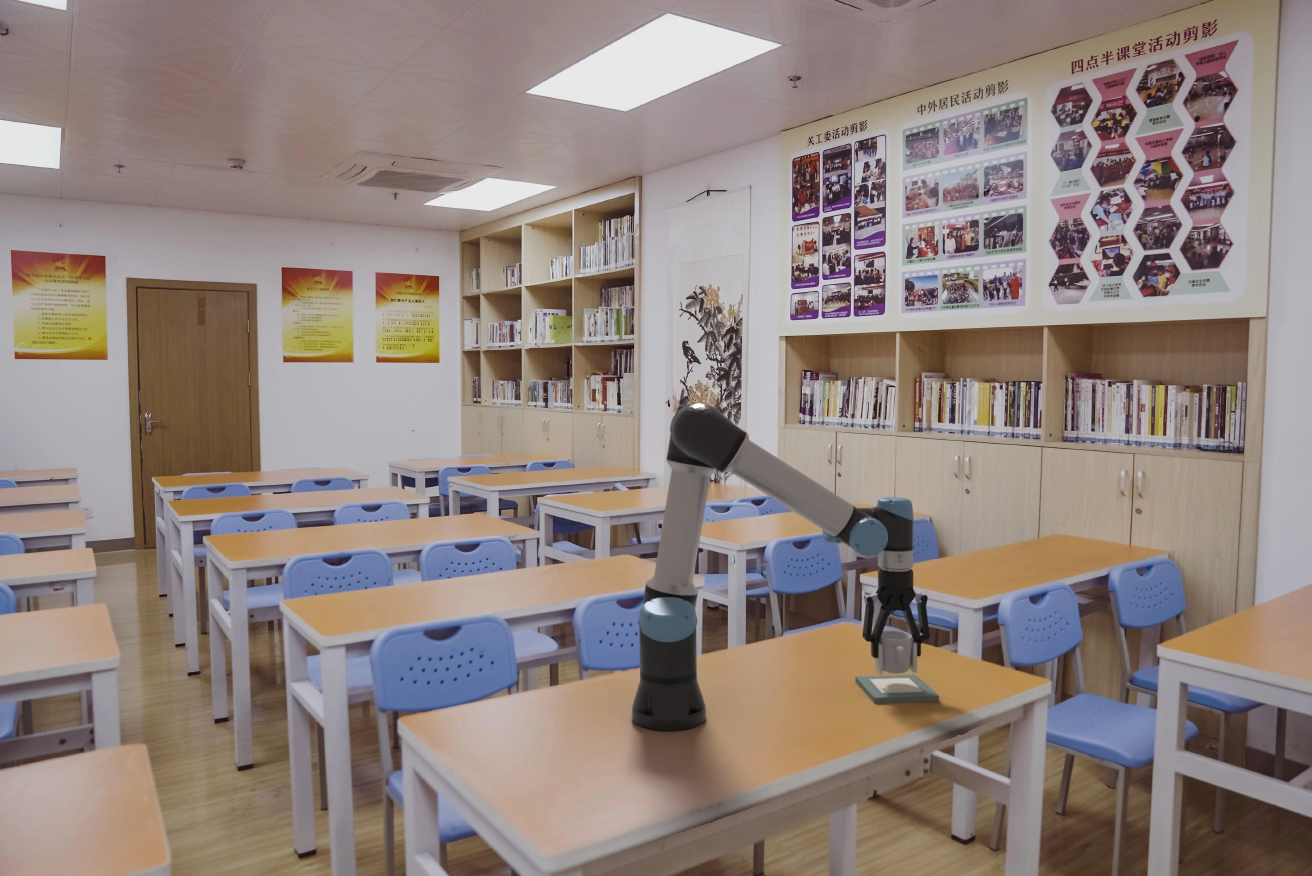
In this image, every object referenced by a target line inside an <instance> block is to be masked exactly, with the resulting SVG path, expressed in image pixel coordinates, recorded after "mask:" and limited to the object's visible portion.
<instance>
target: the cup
mask: <svg viewBox="0 0 1312 876" xmlns="http://www.w3.org/2000/svg"><path fill="white" fill-rule="evenodd" d="M912 642H913V636H912V635H911V633H910V632H906V631H900V630H883V632H882V635H881V638H880V641H879V643H881V644H882V645H883V672H885V673H888V674H892V675H893V674H894V675H901V674H905V673H907V672H908V671H909V670H910V669H909V668H910V662H911V652H912Z"/></svg>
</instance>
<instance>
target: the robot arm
mask: <svg viewBox="0 0 1312 876" xmlns="http://www.w3.org/2000/svg"><path fill="white" fill-rule="evenodd" d="M670 422H671V423H670V426H669V427H670V428H669V431H670V434H669V435H670V436H669V442H668V448H667V454H666V462H667V464H668V465H669V467H670V469H671V471H670V479H669V483H668V490H667V497H666V503H665V507H664V508H665V509H664V514H663V520H662V526H661V531H660V532H661V533H660V538H659V539H660V540H659V545H658V551H657V556H656V563H655V569H654V575H653V576H652V577H651V578H650V579H648V580H646V582H645V587H644V591H643V592H644V594H643V599H642V604H641V606H640V607H639V615H638V619H637V621H638V626H639V627H638V629H639V683H638V685H637V689H636V692H635V696H634V700H633V702H632V707H631V719H632V720H633V722H634V723H635V724H636V725H638V726H640V727H643V728H645V729H650V730H655V731H656V730H657V731H666V732H667V731H668V732H671V731H672V732H673V731H680V730H681V731H682V730H688V729H691V728H692V729H693V728H695V727H697V726H700V725H701V724H703V723H704V722H705V720H706V718H707V707H706V704H705V703H706V702H705V700H704V697H703V694H702V691H701V688H700V685H699V682H698V673H697V672H698V670H697V667H698V664H697V663H698V660H697V659H698V658H697V657H698V656H697V626H698V615H697V611H696V607H697V600H698V595H699V591H698V588H697V587H696V586H695V583H694V578H695V577H694V575H695V569H696V564H697V558H698V552H699V546H700V540H701V534H702V529H703V523H704V518H705V517H704V515H705V510H706V504H707V499H708V492H709V487H710V481H711V476H712V475H713V474H714V473H716V472H717V471H719V472H720V473H722V474H726V473H731V474H733V475H734V476H736V477H738V478H739V479H740V480H742V481H744V482H746V483H747V484H748V485H750V486H752V487H753V488H755V489H757V490H758V491H760V492H761V493H763V494H764V495H767V496H768V497H769V498H771V499H773V500H774V501H776V502H777V503H779V504H781V506H784V507H785V508H787V509H789V510H790V511H792V512H794V513H795V514H797V515H799V517H802V518H803V519H805V520H807V521H808V522H810V523H812V524H813V525H815V526H817V527H818V528H820V529H821V530H822V536H823V539H824V540H825V542H827V543H829V544H830V543H831V544H842V543H843V544H845V546H848V548H851V549H852V550H854V552H855V553H858V554H860V555H862V556H867V557H871V556H876V555H877V566H878V567H879V568H878V570H877V590H876V592H875V593H873V594H870V595H869V594H864V596H863V600H864V603H865V610H864V618H863V626H862V628H863V629H862V638H863V639H864V640H865V641H866V642H869V643H870V653H871V657H872V658H874V660H875V664H874V665H875V668H874V669H875V671H876V672H877V673H878V674H879V675H883V674H884V671H883V645H882V644H881V643H879V641H880V638H881V635H882V632H883V631H885V626H886V624H887V622H888V619H889V617H890V615H891V612H895V611H900V612H902V614H903V616H904V619H905V621H906V624H907V627H908V629H909V631H910V632H909V633H910V634H911V635H912V636H913V642H912V652H911V662H910V668H909V670H910V671H911V672H912V673H913V674H915V673H918V657H921V655H922V644H923V642H924V641H926V640H929V639H930V638H931V636H930V627H929V620H928V618H929V617H928V612H927V611H928V610H927V603H928V600H929V597H928V596H927V595H926V594H925V593H924V592H919V593H918V592H916V591H915V589H914V570H913V569H912V568H913V567H914V546H913V545H914V521H915V520H914V509H913V501H911V499H909V498H906V497H898V496H897V497H896V496H889V497H888V496H887V497H880V498H879V499H877V504H876V506H874V507H856V506H854V505H853V504H852V503H850V502H849V501H847V500H845V499H844V498H842V497H840V495H839V496H838V495H837V494H836V493H834V492H833V491H831V490H829V489H828V488H827V487H825V486H823V485H821V484H820V483H818V482H817V481H815V480H814V479H812V478H810V477H809V476H807V475H806V474H804V473H802V472H801V471H799V470H798V469H796V468H795V467H793V466H791V465H789V464H788V463H786V462H785V461H783V460H782V459H780V458H779V457H777V456H775V455H774V454H772V453H771V452H769V451H767V450H766V449H764V448H763V447H761V446H760V445H758V444H756V443H755V442H753V441H751V440H750V438H749V433H748V432H747V431H745V430H743V429H742V428H740V427H739V426H738V425H736V424H735V423H734V422H733V421H731V420H730V419H729V418H728V417H726V415H724V414H723V413H722V412H721V411H720V410H719V409H718V408H716V407H714V406H713V405H710V404H708V403H707V404H706V403H704V402H693V403H689V404H687V405H683V407H680V408H679V409H678V411H676V413H675V414H674V416H673V417H672V419H671V421H670ZM877 600H878V601H879V602H880V603H881V605H880V607H879V614H878V616H877V619H876V621H875V624H874V614H875V605H876V603H877ZM913 600H915V602H916V608H917V616H918V624H919V625H917V623H916V621H915V618H914V614H913V611H912V609H911V607H910V606H911V603H913ZM873 624H874V627H873ZM918 626H919V628H918Z"/></svg>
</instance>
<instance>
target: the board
mask: <svg viewBox="0 0 1312 876" xmlns="http://www.w3.org/2000/svg"><path fill="white" fill-rule="evenodd" d="M855 683H856V684H857V686H858V687H859V688H861V690H862V691H863V692H864V693H865V694H866V696H867V697H869V699H870V700H871V701H872V702H873V703H874V704H887V703H888V704H889V703H890V704H891V703H895V704H897V703H916V702H917V703H918V702H919V703H920V702H924V703H925V702H926V703H927V702H939V701H940V695H939V694H938V692H936V691H934V689H932V688H931V687H930V686H929V685H928V684H927V683H926V682H925V681H923V680H922V679H921V678H920V677H919V676H918V675H917V674H894V675H893V674H891V675H862V676H858V675H857V676H855Z"/></svg>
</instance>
